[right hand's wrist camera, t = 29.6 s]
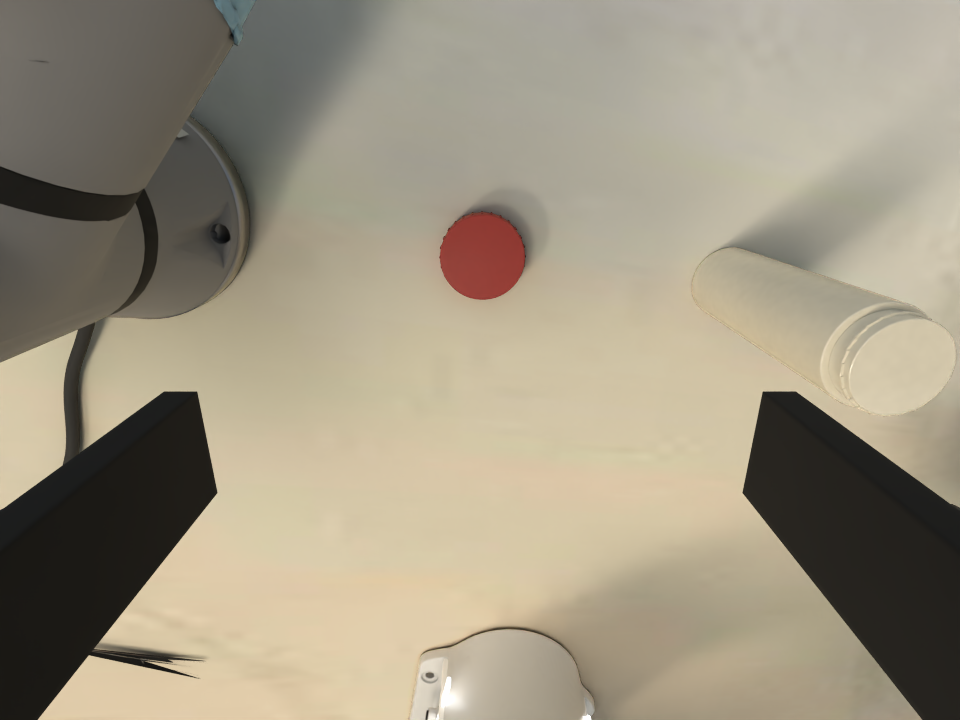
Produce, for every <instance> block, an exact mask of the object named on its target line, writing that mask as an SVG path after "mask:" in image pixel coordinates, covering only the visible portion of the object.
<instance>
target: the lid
mask: <svg viewBox="0 0 960 720" xmlns="http://www.w3.org/2000/svg"><path fill="white" fill-rule="evenodd" d="M516 230H517V229H516V227H513V226H512V225H511V224H510V221H509V220H508V221H507V220H505V219H504V218H502V216H501V215H500V216H498V215H495V214H493V213H492V212H491V213H486V212H483V211H481V212H479V213H473V212H472V214H470V215H467V216H463V217H462V218H461V219H460V220H458V221H455V223H454V225H453V226H452V227H451V228H449V229H448V232H447V234H446V236H444V238H443V240H444V241H443V243H442V245H441V247H440V249H441V252H440V257H439V258H440V262H441V268H442V271H443V274H444V276H445V278H446V279H447V281H448V282H449V284H450V285H451V286H452V287H453V288H454V289H455V290H456V291H458V292H459V293H461V294H462V295H464V296H467V297H469V298H473V299H479V300H486V299H492V298H496V297H498V296H501V295H503V294H504V293H506V292H507V291H509V290H510V289H511V288H512V287H513V286H514V285H515V284H516V282H517V281H518V279H519V278H520V276H521V274H522V271H523V268H524V263H525V257H526V256H525V251H524V248H525V246H524V244H523V243H522V240H521V239H522V237H521V236H520V235H519V234H518V233H517V231H516Z"/></svg>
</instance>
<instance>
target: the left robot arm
mask: <svg viewBox="0 0 960 720" xmlns="http://www.w3.org/2000/svg"><path fill="white" fill-rule="evenodd" d="M594 711H595V707H594V699H593V697H592V696H591V694H590V693H589V692H588V691H587V690H586V689H585V688H584V686H583V685H582V683H581V681H580V677H579V672H578V668H577V665H576V663H575V661H574V659H573V658H572V656H571V655H570V654H569V653H568V652H567V651H566V650H565V649H564V648H563V647H562V646H561V645H560V644H558V643H557V642H555V641H553V640H552V639H550V638H548V637H546V636H543V635H541V634H537V633H534V632H530V631H525V630H516V629H502V630H493V631H488V632H484V633H481V634H478V635H475V636H472V637H470V638H468V639H466V640H464V641H462V642H461V643H459V644H457V645H454V646H452V647H449V648H442V649H436V650H431V651H428V652H425V653H424V654H422V655H421V657H420V660H419V665H418V671H417V676H416V682H415V687H414V693H413V698H412V704H411V710H410V715H409V720H591V716H592V715H593V714H594Z"/></svg>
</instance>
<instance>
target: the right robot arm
mask: <svg viewBox="0 0 960 720" xmlns="http://www.w3.org/2000/svg"><path fill="white" fill-rule="evenodd" d="M255 1H256V0H0V362H2V361H5V360H7V359H10V358H12V357H14V356H17V355H19V354H21V353H24V352H26V351H28V350H31V349H33V348H35V347H38V346H40V345H42V344H45V343H47V342H49V341H52V340H54V339H56V338H59V337H61V336H64V335H66V334H68V333H71V332H73V331H75V330H78V332H77V335H76V339H75V342H74V345H73V348H72V351H71V354H70V357H69V360H68V363H67V368H66V373H65V380H64V411H65V423H66V451H65V457H64V462H63V466H61V467H60V468H59V469H57V470H56V471H54V472H53V473H52V474H50V475H49V476H48V477H46V478H45V479H43V480H42V481H41V482H39V483H38V484H37V485H35V486H34V487H32V488H31V489H30V490H28V491H27V492H26V493H24V494H23V495H22V496H20V497H19V498H17V499H16V500H15V501H13V502H12V503H11V504H9V505H8V506H6V507H5V508H3V509H1V510H0V720H38V718H39V717H40V716H41V715H42V713H43V712H44V711H45V710H46V708H47V707H48V706H49V705H50V703H51V702H52V701H53V700H54V698H55V697H56V696H57V694H58V693H59V692H60V691H61V689H62V688H63V687H64V686H65V684H66V683H67V682H68V681H69V679H70V678H71V677H72V676H73V674H74V673H75V672H76V671H77V669H78V668H79V667H80V665H81V664H82V663H83V662H84V660H85V659H86V658H87V657H88V655H89V654H90V653H91V652H92V650H93V649H94V648H95V647H96V645H97V644H98V643H99V642H100V640H101V639H102V638H103V636H104V635H105V634H106V633H107V631H108V630H109V629H110V628H111V626H112V625H113V624H114V623H115V621H116V620H117V619H118V618H119V616H120V615H121V614H122V613H123V611H124V610H125V609H126V607H127V606H128V605H129V604H130V602H131V601H132V600H133V599H134V597H135V596H136V595H137V594H138V592H139V591H140V590H141V589H142V587H143V586H144V585H145V584H146V582H147V581H148V580H149V578H150V577H151V576H152V575H153V573H154V572H155V571H156V570H157V568H158V567H159V566H160V565H161V563H162V562H163V561H164V560H165V558H166V557H167V556H168V555H169V553H170V552H171V551H172V549H173V548H174V547H175V546H176V544H177V543H178V542H179V541H180V539H181V538H182V537H183V536H184V534H185V533H186V532H187V531H188V529H189V528H190V527H191V525H192V524H193V523H194V522H195V520H196V519H197V518H198V517H199V515H200V514H201V513H202V512H203V510H204V509H205V508H206V507H207V505H208V504H209V503H210V502H211V500H212V499H213V498H214V496H215V495H216V494H217V488H216V483H215V478H214V473H213V468H212V463H211V458H210V453H209V448H208V443H207V438H206V433H205V428H204V423H203V418H202V413H201V408H200V403H199V398H198V393H197V392H163V393H162V394H160V395H159V396H157V397H156V398H155V399H153V400H152V401H151V402H149V403H148V404H146V405H145V406H144V407H142V408H141V409H140V410H138V411H137V412H136V413H134V414H133V415H131V416H130V417H129V418H127V419H126V420H125V421H123V422H122V423H120V424H119V425H118V426H116V427H115V428H114V429H112V430H111V431H109V432H108V433H107V434H105V435H104V436H103V437H101V438H100V439H98V440H97V441H96V442H94V443H93V444H92V445H90V446H89V447H87V448H86V449H85V450H83V451H82V452H81V453H79V445H80V426H79V413H78V382H79V374H80V370H81V366H82V362H83V359H84V357H85V354H86V351H87V348H88V345H89V342H90V339H91V336H92V333H93V329H94V326H95V323H96V321H99V320H101V319H103V318H105V317H121V318H141V319H161V318H169V317H173V316H177V315H181V314H183V313H186V312H189V311H191V310H193V309H195V308H197V307H199V306H201V305H203V304H205V303H207V302H208V301H210V300H212V299H213V298H215V297H216V296H217V295H219V294H220V293H221V292H222V291H223V290H224V289H225V288H226V287H227V286H228V285H229V284H230V283H231V282H232V280H233V279H234V278H235V276H236V275H237V273H238V271H239V270H240V267H241V265H242V263H243V261H244V258H245V255H246V252H247V248H248V243H249V235H250V217H249V208H248V202H247V198H246V194H245V191H244V188H243V185H242V182H241V180H240V177H239V175H238V173H237V171H236V169H235V167H234V165H233V163H232V162H231V160H230V158H229V157H228V155H227V154H226V152H225V151H224V149H223V148H222V147H221V145H220V144H219V143H218V142H217V141H216V139H215V138H214V137H213V136H212V135H211V134H210V133H209V132H208V131H207V130H206V129H205V128H204V127H203V126H202V125H201V124H199V123H198V122H197V121H196V120H195V119H193V118H192V117H190V114H191V112H192V111H193V109H194V107H195V106H196V104H197V103H198V101H199V99H200V98H201V96H202V94H203V93H204V91H205V90H206V88H207V86H208V85H209V83H210V81H211V80H212V78H213V77H214V75H215V73H216V72H217V70H218V68H219V67H220V65H221V63H222V62H223V60H224V59H225V57H226V55H227V54H228V52H229V50H230V49H231V47H232V46H233V44H235V45H237V46H238V45H239V43H240V41H241V40H242V38H243V28H242V26H243V24H244V22H245V20H246V18H247V16H248V14H249V13H250V11H251V9H252V7H253V5H254V3H255ZM743 494H744V495H745V496H746V498H747V499H748V500H749V502H750V503H751V504H752V505H753V507H754V508H755V509H756V510H757V512H758V513H759V514H760V515H761V517H762V518H763V519H764V520H765V522H766V523H767V524H768V525H769V527H770V528H771V529H772V531H773V532H774V533H775V534H776V536H777V537H778V538H779V539H780V541H781V542H782V543H783V544H784V546H785V547H786V548H787V549H788V551H789V552H790V553H791V555H792V556H793V557H794V558H795V560H796V561H797V562H798V563H799V565H800V566H801V567H802V568H803V570H804V571H805V572H806V573H807V575H808V576H809V577H810V578H811V580H812V581H813V582H814V584H815V585H816V586H817V587H818V589H819V590H820V591H821V592H822V594H823V595H824V596H825V597H826V599H827V600H828V601H829V602H830V604H831V605H832V606H833V607H834V609H835V610H836V611H837V613H838V614H839V615H840V616H841V618H842V619H843V620H844V621H845V623H846V624H847V625H848V626H849V628H850V629H851V630H852V631H853V633H854V634H855V635H856V636H857V638H858V639H859V640H860V642H861V643H862V644H863V645H864V647H865V648H866V649H867V650H868V652H869V653H870V654H871V655H872V657H873V658H874V659H875V660H876V662H877V663H878V664H879V665H880V667H881V668H882V669H883V671H884V672H885V673H886V674H887V676H888V677H889V678H890V679H891V681H892V682H893V683H894V684H895V686H896V687H897V688H898V689H899V691H900V692H901V693H902V694H903V696H904V697H905V698H906V700H907V701H908V702H909V703H910V705H911V706H912V707H913V708H914V710H915V711H916V712H917V713H918V715H919V716H920V717H921V718H922V720H960V508H959V507H957V506H955V505H953V504H949V503H948V502H947V501H945V500H944V499H943V498H941V497H940V496H938V495H937V494H936V493H934V492H933V491H932V490H930V489H929V488H928V487H926V486H925V485H923V484H922V483H921V482H919V481H918V480H917V479H915V478H914V477H912V476H911V475H910V474H908V473H907V472H906V471H904V470H903V469H901V468H900V467H899V466H897V465H896V464H895V463H893V462H892V461H890V460H889V459H888V458H886V457H885V456H884V455H882V454H881V453H879V452H878V451H877V450H875V449H874V448H873V447H871V446H870V445H868V444H867V443H866V442H864V441H863V440H862V439H860V438H859V437H857V436H856V435H855V434H853V433H852V432H851V431H849V430H848V429H846V428H845V427H844V426H842V425H841V424H840V423H838V422H837V421H835V420H834V419H833V418H831V417H830V416H829V415H827V414H826V413H824V412H823V411H822V410H820V409H819V408H818V407H816V406H815V405H814V404H812V403H811V402H809V401H808V400H807V399H805V398H804V397H803V396H801V395H800V394H798V393H797V392H763V393H762V398H761V403H760V408H759V413H758V418H757V423H756V428H755V433H754V438H753V443H752V448H751V453H750V458H749V463H748V468H747V473H746V478H745V483H744V488H743Z"/></svg>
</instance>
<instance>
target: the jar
mask: <svg viewBox="0 0 960 720" xmlns="http://www.w3.org/2000/svg"><path fill="white" fill-rule="evenodd" d="M692 294H693V298H694V300H695V302H696V304H697V305H698V307H699V308H700V309H701V310H703V311H704V312H705V313H707V314H708V315H710V316H711V317H713V318H714V319H716V320H717V321H719V322H720V323H722V324H723V325H725V326H726V327H728V328H729V329H731V330H732V331H734V332H735V333H737V334H738V335H740V336H741V337H743V338H744V339H746V340H747V341H749V342H750V343H752V344H753V345H755V346H756V347H758V348H759V349H761V350H762V351H764V352H765V353H767V354H768V355H769V356H771V357H772V358H774V359H775V360H777V361H778V362H780V363H781V364H783V365H784V366H786V367H787V368H789V369H790V370H792V371H793V372H795V373H796V374H798V375H799V376H801V377H802V378H804V379H805V380H807V381H808V382H810V383H811V384H813V385H814V386H816V387H817V388H819V389H820V390H822V391H823V392H825V393H826V394H828V395H829V396H831V397H832V398H834V399H835V400H837V401H839V402H840V403H842V404H845V405H848V406H852V407H857V408H858V409H860V410H862V411H865V412H867V413H869V414H873V415H881V416H892V415H898V416H899V415H902V414H904V413H907V412H910V411H913V412H914V411H915V410H917V409H918V408H920V407H922V406H923V405H925V404H926V403H928V402H929V401H930V400H932V399H933V398H934V397H935V396H936V395H937V394H939V392H940V391H941V390H942V389H943V388H944V387H945V385H946V384H947V382H948V381H949V379H950V377H951V375H952V373H953V371H954V367H955V364H956V346H955V343H954V340H953V338H952V336H951V334H950V333H949V332H948V331H947V330H946V329H945V328H944V327H943V326H942V325H940V324H938V323H936V322H934V321H931V320H932V319H930V318H928V316H927V315H926V314H925V313H924V312H923V311H922V310H920V309H919V308H917V307H915V306H913V305H910V304H908V303H905V302H902V301H899V300H896V299H893V298H890V297H887V296H884V295H881V294H878V293H875V292H872V291H869V290H866V289H863V288H860V287H857V286H854V285H850V284H847V283H844V282H841V281H838V280H835V279H832V278H829V277H826V276H823V275H820V274H817V273H814V272H811V271H808V270H805V269H802V268H799V267H796V266H793V265H790V264H787V263H784V262H781V261H778V260H775V259H772V258H769V257H766V256H763V255H760V254H757V253H754V252H751V251H748V250H745V249H741V248H735V247H731V248H724V249H721V250H718V251H716V252H714V253H712V254H711V255H709V256H708V257H707V258H705V259H704V260H703V261H702V263H701V264H700V265H699V267H698V268H697V270H696V272H695V274H694V277H693V281H692Z"/></svg>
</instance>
